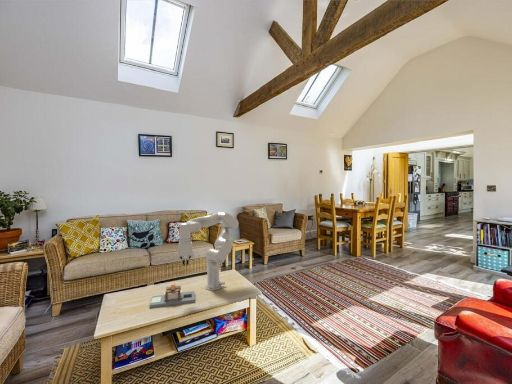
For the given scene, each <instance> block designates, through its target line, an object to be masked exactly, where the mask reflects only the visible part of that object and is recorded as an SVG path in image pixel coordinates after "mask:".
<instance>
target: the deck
mask: <svg viewBox="0 0 512 384" xmlns="http://www.w3.org/2000/svg"><path fill="white" fill-rule="evenodd" d="M195 295H196V293H195V291H185V292H182V298H180V300H178V299H170V300H168V301H167V302H165V300H164V294H159V295H152V297H151V300H150V303H149V309H153V308H161V307H169V306H176V305H177V306H178V305H185V304H190V303H191V304H192V303H196V296H195Z"/></svg>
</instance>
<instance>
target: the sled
mask: <svg viewBox="0 0 512 384" xmlns="http://www.w3.org/2000/svg"><path fill="white" fill-rule="evenodd" d="M175 286H176V281H171V282H170V287H171V290H175ZM182 293H183V289H181V290H180V298H182ZM163 295H164V300H165V292H164V293H163ZM170 299H178V292H177V293H169V294H168V300H170Z"/></svg>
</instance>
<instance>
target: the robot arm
mask: <svg viewBox="0 0 512 384" xmlns="http://www.w3.org/2000/svg"><path fill="white" fill-rule="evenodd" d="M220 223H221V224H220ZM216 224H220V225H221V232H220V234H219V235H218V237H217V238H216V240H215V242H214V244H213V245H214V248H213V247H211V248H209V249H208V250H206V252H205V259H206V265H207V266H206V272H207V273H206V276H207V277H206V280H207V281H206V282H207V284H206V285H205V289H206V290H207V291H218V290H220V289H221V288H222V285H223V286H224V285H226V282H225V281H221V280H220V264H221V263H224V262H225V260H226V259H227V257H228V255H229V254H230V252H231V250H232V248H233V242H232V240H231V239H230V237H231V236H232V235H231V234H232V231H231V230H236V229H237V228H238V227H239V220H238V219H237V218H236V217H234V216H233V215H231V214H230V213H228V212H222V211H218V212H215V213H211V214H210V215H206V216H200V217H196V218H192V219H189V220H187V221H186V222H182V223H180V224H179V242H178V245H177V246H178V247H177V256H176V258H177V259H181V261H182V265H183V266H185V265H186V267H187V266H188V265H189V263H190V262H189V260H190V259H191V258H193V257H194V256H195V255H194V253H193V242H192V241H193V237H191V233H197V232H198V233H199V232H200V231H201V230H202V227H203V228H205V227H207V228H208V227H211V226H215V225H216ZM185 257H186V261H185Z"/></svg>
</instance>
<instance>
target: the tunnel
mask: <svg viewBox="0 0 512 384" xmlns="http://www.w3.org/2000/svg"><path fill="white" fill-rule="evenodd" d="M181 287H182V286H181V285H175V290H171V286H166V288H165V291H164V293H165V302H167V301H168V294H169V293H177V292H178V300H180V290H182V289H181Z"/></svg>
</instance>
